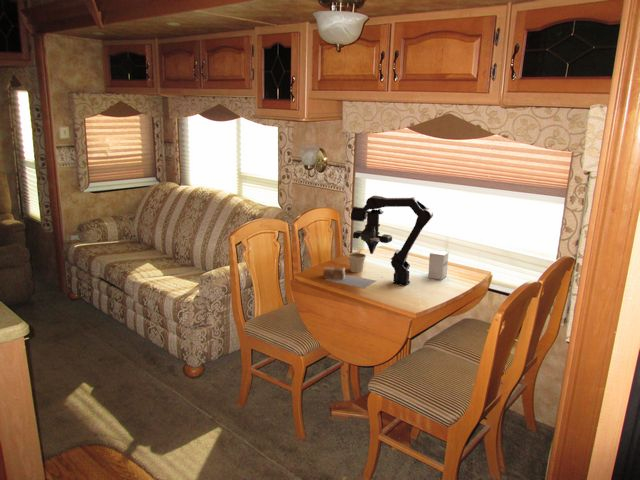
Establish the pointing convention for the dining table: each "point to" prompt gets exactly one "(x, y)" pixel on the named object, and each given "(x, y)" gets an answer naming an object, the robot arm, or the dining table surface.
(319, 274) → the dining table surface
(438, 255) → the supplement box
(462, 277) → the dining table surface
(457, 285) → the dining table surface
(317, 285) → the dining table surface
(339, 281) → the rubber mat
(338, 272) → the walnut block
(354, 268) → the flower pot
